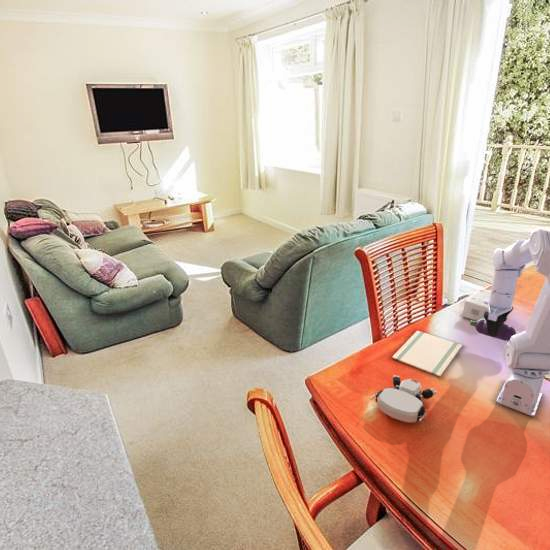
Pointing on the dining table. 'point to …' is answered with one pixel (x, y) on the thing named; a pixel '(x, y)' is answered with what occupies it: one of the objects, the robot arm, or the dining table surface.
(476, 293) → the small box
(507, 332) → the eggplant
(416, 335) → the towel
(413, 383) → the robot toy
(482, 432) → the dining table surface
